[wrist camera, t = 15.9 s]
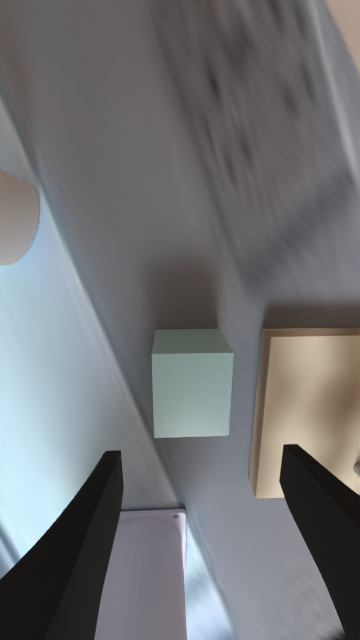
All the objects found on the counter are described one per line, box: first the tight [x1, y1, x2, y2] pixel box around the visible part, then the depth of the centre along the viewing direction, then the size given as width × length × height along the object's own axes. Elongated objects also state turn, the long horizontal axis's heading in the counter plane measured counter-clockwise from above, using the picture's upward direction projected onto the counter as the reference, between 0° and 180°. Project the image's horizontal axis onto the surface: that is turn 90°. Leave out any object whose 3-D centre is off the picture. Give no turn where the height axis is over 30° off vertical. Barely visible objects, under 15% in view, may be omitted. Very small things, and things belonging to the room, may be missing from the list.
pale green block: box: [152, 329, 234, 438], centre depth 19 cm, size 5×6×5 cm
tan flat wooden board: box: [249, 327, 360, 499], centre depth 22 cm, size 12×15×2 cm
